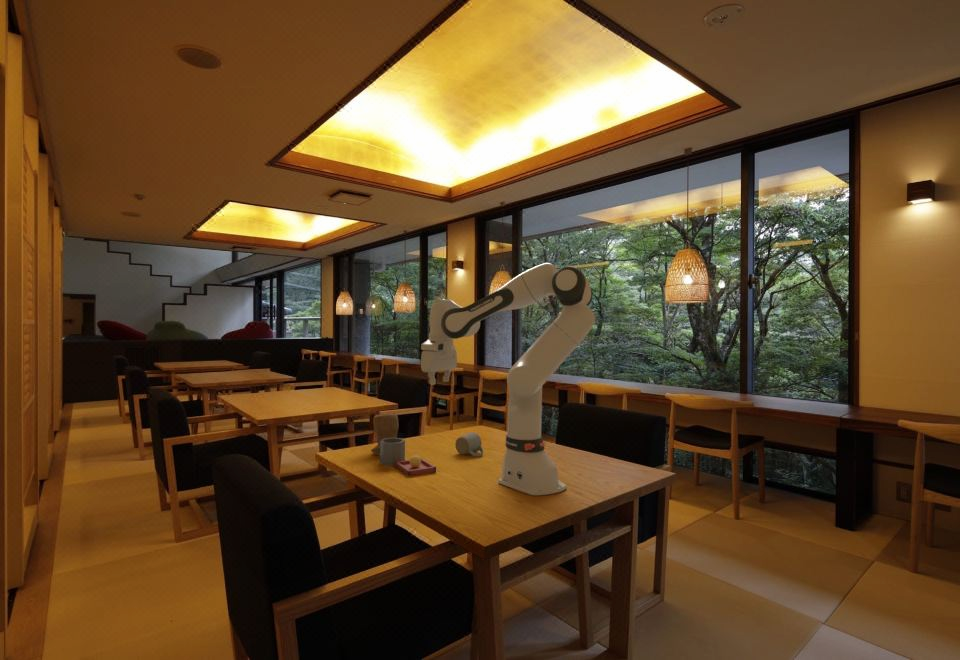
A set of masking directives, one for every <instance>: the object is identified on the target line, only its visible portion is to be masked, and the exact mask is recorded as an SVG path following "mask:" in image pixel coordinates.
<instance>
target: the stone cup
mask: <svg viewBox="0 0 960 660" xmlns="http://www.w3.org/2000/svg"><path fill="white" fill-rule="evenodd" d="M372 419H373V421H372V423H373V429H374V432H375V435H376V438H377V445H376V446H375V447H373V448H371V450H370V451H371V453H373V454H374V455H376V456H379V457H380V441H381V440H383V439H385V438H398V433H399V423H400V422H399V417H398V414H396V413H384V414H375V415H374V416H373V418H372Z"/></svg>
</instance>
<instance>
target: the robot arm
mask: <svg viewBox="0 0 960 660" xmlns="http://www.w3.org/2000/svg"><path fill="white" fill-rule="evenodd" d="M593 294H594V293H593V289H592V287H591V285H590V281H589V279H588V278H587V277H586V276H585V274H584V273H583V271H582V270H580V269H578V268H577V267H574V266H564V267H561V268H559V269H558V268H557V266H555V264H552V263H550V262H544V263H542V264H538V265H535V266H532V267H531V268H529V269H526V270H525V271H523V272H521V273H519V274H518V275H516V276H514V277H513V278H511V279H510V280H509V281H507V282H506V283H504V284H503V285H502V286H500V287H499V288H497V289H496V290H495V291H493V292H491V293H490V294H488V295H485V296H484V297H483V298H480V299H478V300H477V301H474V302H473V303H471V304H468V305H467V306H464V307H463V306H461V305H459V304H457V303H456V302H455V301H454V300H452V299H450V298H449V299H448V298H447V299H439V300H436V301H434V302H433V303H432V304H431V307H430V312H429V328H430V329H429V330H430V331H429V334H428V339H426V341H424V342H423V343H421V346H420V349H421V350H422V352H421V356H420V368H421V369H420V370H421V372H423V373H427V377H428V380H429V385H431V386H433V385H436V384H437V379H436V378H435V375H436V373H437V372H442V371H444V374H443V376H442V382H444V383H448V382H449V381H450V376H451V372H452V370H455V369H456V368H457V366H458V358H457V357H458V355H457V349H456V347H455V345H454V340H455V339H460V338H467V337H471V336H472V337H473V335H475V334H477V333H478V332H479V330H480V327H481V321H483V320H486V319H487V318H488V317H490V316H492V315H494V314H497V313H499V312H503V311H509V310H519V309H523V308H524V309H525V308H527V307H529V306H531V305H534V304H535V303H537V302H539V301H540V300H543V299H544V298H546V297H550V296H555V298H556V299H557V300H558V301H559V303H560V305H562V309H561V312H560V314H558V316H557V317H556V318H555V319H554V320H553V322H551V323H550V324H549V326H548V327H546V328H545V330H544V331H543V332H542V333H541V335H540V336H538V337H537V338H536V340H535V341H534V342H533V343H532V344H531V345H530V347H528V349H527V350H526V351H524V353H523V354H522V355H521V356H520V358H518V360H517V361H516V362H515V363H514V364H513V365H512V366H511V367H510V369H509V370H508V372H507V376H506V383H507V387H508V390H509V391H508V407H507V427H506V429H507V433H506V435H505V447H506V450H505V453H504V455H503V458H502V466H501V474H500V475H501V476H500V478H499V479H498V484H500V485H503V486H506V487H509V488H511V489H513V490H516V491H519V492H520V493H521V492H522V493H525V494H527V495H529V496H546V495H553V494H557V493H560V492H563V491H565V490H566V489H567V485H566V484H565V483H563V482H562V481H561V480H559V477H560V476H559V469H558V466H557V464H556V463H555V462H553V460H552V459H551V457H550V456H549V454H547V452H546V450H545V446H547V445H546V444H547V442H546V441H544V439H543V437H542V413H543V412H542V410H543V409H542V406H543V385H545V384H546V383H547V381H548V380H549V379H550V378H551V376H552V375H553V374H554V373H555V372H556V371H557V370H558V368H560V366H561V365H562V364H563V363H564V361H566V359H567V358H568V357H569V356H570V355H571V354H572V353H573V352H574V351H575V349H576V348H577V347H578V346H579V345H580V344H581V342H583V341H584V339H585V338H586V337H587V336H588V334H589V332H590V331H591V329H593V327H594V325H595V323H596V315H595V313H594V311H593V310H592V309H591V308H590V307H589V306H590V305H591V302H592V301H593Z"/></svg>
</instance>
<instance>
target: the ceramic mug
mask: <svg viewBox="0 0 960 660" xmlns="http://www.w3.org/2000/svg"><path fill="white" fill-rule="evenodd" d="M482 446H483V445H482V439H481V437H480V435H479V434H478V433H477V432H472V431H471V432H469V433H466V434H463V435H461V436H459V437H458V438H457V439H456V440H455V448H456V451H457V453H458V454H460V455H461V456H465V455H471V456H473V457H477V458H479V457H482V456H483V454H484V449H483V447H482ZM478 452H480V453H478Z"/></svg>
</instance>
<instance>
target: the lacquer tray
mask: <svg viewBox="0 0 960 660" xmlns="http://www.w3.org/2000/svg"><path fill="white" fill-rule="evenodd" d="M420 458H421V464H420V466H419V467H416V468H415V467H412V466H411V465H410V459H407V460H406V459H405V461H398V462H395V466H394V467H395V468H396V469H397V470H398V471H400V472H402V473H403V474H404V475H406V476H407V477H408V478H410V477H416V476H422V475H426V474H427V475H428V474H434V473H437V466H435V465H434V464H432V463H430V462H428V461H427V460H426V459H424V458H422V457H420Z"/></svg>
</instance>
